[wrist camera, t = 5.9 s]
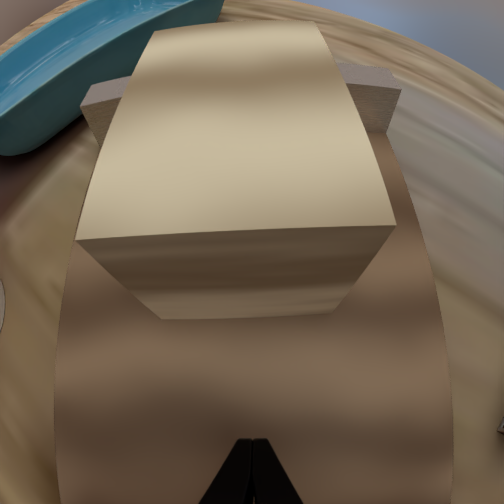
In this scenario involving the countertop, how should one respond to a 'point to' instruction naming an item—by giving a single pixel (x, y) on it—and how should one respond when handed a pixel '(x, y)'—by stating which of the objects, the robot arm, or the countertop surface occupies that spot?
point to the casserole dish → (80, 62)
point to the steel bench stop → (355, 76)
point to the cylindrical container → (2, 304)
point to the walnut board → (260, 385)
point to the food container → (501, 427)
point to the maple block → (236, 176)
